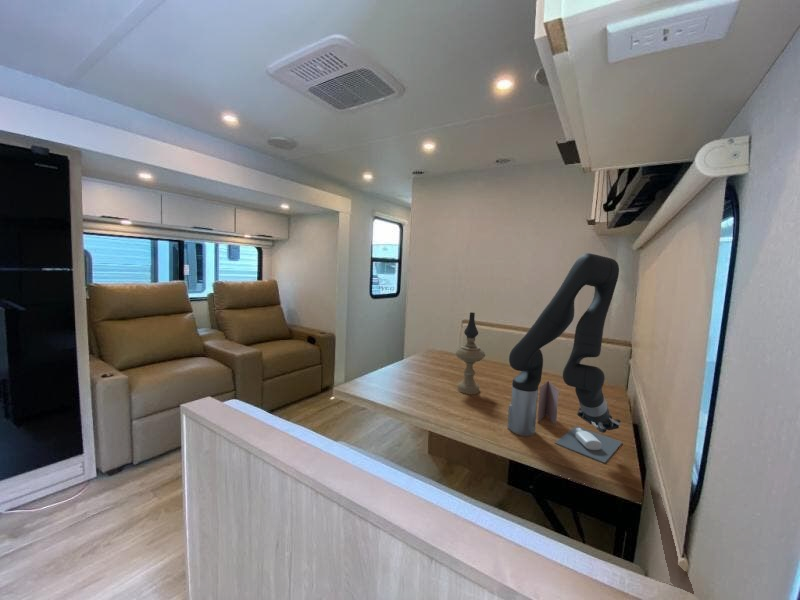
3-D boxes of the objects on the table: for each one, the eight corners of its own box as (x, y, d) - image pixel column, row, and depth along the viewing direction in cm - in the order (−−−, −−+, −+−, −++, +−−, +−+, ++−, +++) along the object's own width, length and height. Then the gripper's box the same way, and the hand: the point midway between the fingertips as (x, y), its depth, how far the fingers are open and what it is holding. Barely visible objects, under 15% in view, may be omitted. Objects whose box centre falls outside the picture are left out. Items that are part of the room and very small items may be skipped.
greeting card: (543, 413, 145) (546, 380, 143) (562, 418, 140) (564, 384, 139) (535, 422, 136) (537, 386, 134) (554, 428, 131) (557, 391, 130)
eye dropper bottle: (599, 437, 114) (581, 421, 126) (584, 443, 115) (567, 427, 127) (604, 447, 115) (585, 431, 127) (589, 454, 115) (572, 437, 127)
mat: (554, 443, 119) (554, 442, 119) (575, 426, 133) (575, 425, 133) (604, 463, 108) (604, 462, 108) (622, 443, 121) (622, 442, 121)
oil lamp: (451, 393, 165) (454, 313, 161) (455, 383, 179) (459, 310, 176) (482, 397, 161) (486, 315, 157) (484, 387, 175) (488, 312, 171)
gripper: (620, 401, 102) (627, 427, 111) (575, 388, 112) (585, 413, 121) (614, 423, 99) (621, 447, 108) (567, 408, 108) (578, 432, 118)
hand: (602, 429), depth 115 cm, fingers closed
